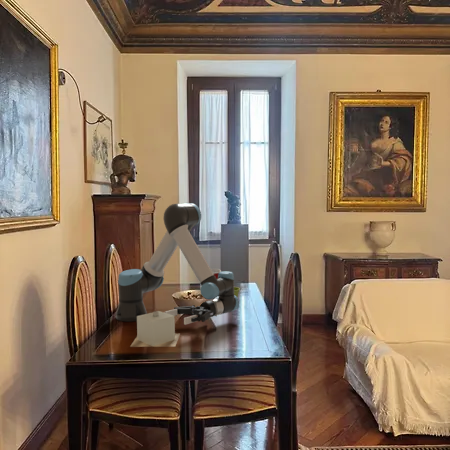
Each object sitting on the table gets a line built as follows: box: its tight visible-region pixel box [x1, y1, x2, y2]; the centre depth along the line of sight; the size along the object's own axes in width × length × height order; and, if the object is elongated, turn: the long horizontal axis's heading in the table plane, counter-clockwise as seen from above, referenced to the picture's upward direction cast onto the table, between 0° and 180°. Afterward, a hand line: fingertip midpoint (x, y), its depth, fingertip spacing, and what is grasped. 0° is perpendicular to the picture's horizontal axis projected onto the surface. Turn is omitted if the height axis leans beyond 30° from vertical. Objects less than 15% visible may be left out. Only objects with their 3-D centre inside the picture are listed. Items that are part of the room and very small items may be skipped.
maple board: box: [129, 332, 181, 348], centre depth 183 cm, size 18×16×2 cm
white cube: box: [136, 310, 176, 346], centre depth 182 cm, size 11×11×12 cm
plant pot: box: [234, 286, 241, 299], centre depth 245 cm, size 9×9×9 cm
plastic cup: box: [210, 268, 222, 279], centre depth 284 cm, size 11×11×12 cm
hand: (174, 318), depth 189 cm, fingers open, 13 cm apart
